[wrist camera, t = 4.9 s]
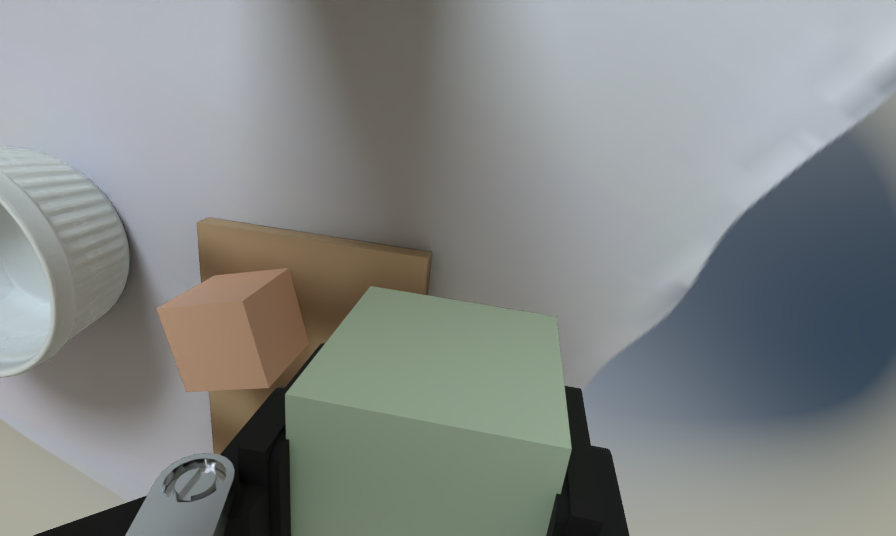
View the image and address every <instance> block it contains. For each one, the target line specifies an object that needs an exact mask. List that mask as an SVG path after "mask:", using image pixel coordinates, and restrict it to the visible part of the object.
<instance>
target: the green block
mask: <svg viewBox="0 0 896 536" xmlns="http://www.w3.org/2000/svg"><path fill="white" fill-rule="evenodd" d="M285 420H286V439H288V440H289V449H290V505H291V536H546V534H547V530H548V526H549V522H550V518H551V514H552V510H553V505H554V501H555V497H556V493H558V494H561V490H562V486H563V482H564V478H565V474H566V470H567V466H568V462H569V458H570V454H571V450H572V447H571V439H570V430H569V421H568V412H567V404H566V395H565V386H564V377H563V369H562V360H561V351H560V342H559V334H558V325H557V316H550V315H544V314H538V313H532V312H526V311H520V310H514V309H508V308H502V307H495V306H489V305H483V304H477V303H471V302H465V301H459V300H453V299H447V298H440V297H434V296H428V295H422V294H416V293H410V292H404V291H398V290H392V289H385V288H379V287H373V286H370V287H369V289H368V290H367V291H366V292H365V294H364V295H363V296H362V297H361V299H360V300H359V301H358V303H357V304H356V305H355V306H354V308H353V309H352V310H351V311H350V313H349V314H348V315H347V316H346V318H345V319H344V320H343V322H342V323H341V324H340V325H339V327H338V328H337V329H336V330H335V332H334V333H333V334H332V335H331V337H330V338H329V339H328V341H327V342H326V343H325V344H324V346H323V347H322V348H321V349H320V351H319V352H318V353H317V354H316V356H315V357H314V358H313V359H312V361H311V362H310V363H309V365H308V366H307V367H306V368H305V370H304V371H303V372H302V373H301V375H300V376H299V377H298V378H297V380H296V381H295V382H294V384H293V385H292V386H291V387H290V389H289V390H288V391H287V392H286V394H285Z"/></svg>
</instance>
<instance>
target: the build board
mask: <svg viewBox="0 0 896 536" xmlns="http://www.w3.org/2000/svg"><path fill="white" fill-rule="evenodd" d="M197 234H198V247H199V261H200V274H201V283H202V282H204V281H206V280H207V279H209V278H211V277H213V276H214V275H224V274H234V273H244V272H254V271H264V270H274V269H284V268H289V270H290V274H291V278H292V282H293V285H294V289H295V293H296V297H297V300H298V304H299V308H300V312H301V315H302V319H303V323H304V327H305V330H306V334H307V338H308V342H309V344H308V345H307V346H306V347H305V348H304V349H303V351H302V352H301V353H300V354H299V355H298V356H297V357H296V358H295V360H294V361H293V362H292V363H291V364H290V365H289V366H288V367H287V368H286V370H285V371H284V372H283V373H282V374H281V375H280V376H279V377H278V378H277V380H276V381H275V382H274V383H273V384H272V385H271V386H270V387H269V388H260V389H238V390H217V391H209V396H210V409H211V423H212V436H213V450H214V454H219V455H220V454H221V453H222V452H223V450H224V449H225V448H226V447H227V446H228V444H229V443H230V442H231V441H232V440H233V438H234V437H235V436H236V435H237V434H238V432H239V431H240V430H241V429H242V428H243V427H244V425H245V424H246V423H247V422H248V421H249V419H250V418H251V417H252V416H253V415H254V413H255V412H256V411H257V410H258V409H259V407H260V406H261V405H262V404H263V403H264V401H265V400H266V399H267V398H268V397H269V396H270V394H271V393H272V392H273V391H274V390H275V389H276V388H278V387H283V388H285V387H286V386H287V385H288V383H289V382H290V381H291V380H292V378H293V377H294V376H295V375H296V373H297V372H298V371H299V370H300V369H301V367H302V366H303V365H304V364H305V362H306V361H307V360H308V359H309V357H310V356H311V355H312V354H313V352H314V351H315V350H316V349H317V348H318V346H319V345H320V344H321V343H326V342H327V341H328V339H329V338H330V337H331V335H332V334H333V333H334V332H335V330H336V329H337V328H338V327H339V325H340V324H341V323H342V322H343V320H344V319H345V318H346V316H347V315H348V314H349V313H350V311H351V310H352V309H353V308H354V306H355V305H356V304H357V303H358V301H359V300H360V299H361V297H362V296H363V295H364V294H365V292H366V291H367V290H368V289H369V287H370V286H373V287H379V288H385V289H392V290H398V291H404V292H410V293H416V294H422V295H428V285H429V275H430V265H431V256H432V252H428V251H422V250H415V249H409V248H402V247H396V246H389V245H383V244H376V243H370V242H364V241H357V240H351V239H344V238H338V237H331V236H325V235H318V234H312V233H305V232H299V231H292V230H286V229H280V228H273V227H267V226H260V225H254V224H247V223H241V222H234V221H228V220H221V219H215V218H207V219H204V220H201V221H199V222H197Z"/></svg>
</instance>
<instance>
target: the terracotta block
mask: <svg viewBox="0 0 896 536" xmlns="http://www.w3.org/2000/svg"><path fill="white" fill-rule="evenodd" d="M156 309H157V312H158V315H159V318H160V320H161V323H162V326H163V329H164V331H165V334H166V337H167V340H168V342H169V345H170V348H171V351H172V353H173V356H174V359H175V362H176V364H177V367H178V370H179V373H180V375H181V378H182V381H183V384H184V386H185V389H186V392H196V391H217V390H238V389H260V388H269V387H270V386H271V385H272V384H273V383H274V382H275V381H276V380H277V378H278V377H279V376H280V375H281V374H282V373H283V372H284V371H285V370H286V368H287V367H288V366H289V365H290V364H291V363H292V362H293V361H294V360H295V358H296V357H297V356H298V355H299V354H300V353H301V352H302V351H303V349H304V348H305V347H306V346H307V345H308V344H309V342H308V338H307V334H306V330H305V327H304V323H303V319H302V315H301V312H300V308H299V304H298V300H297V297H296V293H295V289H294V285H293V282H292V278H291V274H290V270H289V268H284V269H274V270H264V271H254V272H244V273H234V274H224V275H214V276H213V277H211V278H209V279H207V280H206V281H204V282H202V283H200V284H199V285H197V286H195V287H193V288H192V289H190V290H188V291H186V292H184V293H183V294H181V295H179V296H177V297H176V298H174V299H172V300H170V301H169V302H167V303H165V304H163V305H162V306H160V307H158V308H156Z"/></svg>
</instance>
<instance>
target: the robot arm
mask: <svg viewBox="0 0 896 536" xmlns="http://www.w3.org/2000/svg"><path fill="white" fill-rule="evenodd" d="M324 344H325V343H321V344H320V345H319V346H318V348H317V349H316V350H315V351H314V352H313V354H312V355H311V356H310V357H309V359H308V360H307V361H306V362H305V364H304V365H303V366H302V367H301V369H300V370H299V371H298V372H297V373H296V375H295V376H294V377H293V378H292V380H291V381H290V382H289V383H288V385H287V386H286V387H285V388H283V387H278V388H276V389H275V390H274V391H273V392H272V393H271V394H270V396H269V397H268V398H267V399H266V400H265V401H264V403H263V404H262V405H261V406H260V407H259V409H258V410H257V411H256V412H255V413H254V415H253V416H252V417H251V418H250V419H249V421H248V422H247V423H246V424H245V425H244V427H243V428H242V429H241V430H240V431H239V432H238V434H237V435H236V436H235V437H234V438H233V440H232V441H231V442H230V443H229V444H228V446H227V447H226V448H225V449H224V450H223V452H222V453H221V454H220V455H219V454H212V453H202V454H194V455H191V456H188V457H184V458H182V459H180V460H178V461H176V462H174V463H172V464H171V465H170V466H168V467H167V468H166V469H165V470H163V471H162V472H161V474H160V475H159V476H158V478H157V479H156V481H155V482H154V484H153V486H152V488H151V490H150V491H149V493H148V495H147V496H145V497H142V498H139V499H136V500H133V501H130V502H128V503H125V504H122V505H119V506H116V507H113V508H110V509H108V510H105V511H102V512H99V513H96V514H93V515H90V516H88V517H85V518H82V519H79V520H76V521H73V522H71V523H67V524H65V525H62V526H59V527H56V528H53V529H50V530H47V531H45V532H42V533H39V534H36V535H34V536H291V505H290V449H289V440H288V439H286V420H285V394H286V392H287V391H288V390H289V389H290V387H291V386H292V385H293V384H294V382H295V381H296V380H297V378H298V377H299V376H300V375H301V373H302V372H303V371H304V370H305V368H306V367H307V366H308V365H309V363H310V362H311V361H312V359H313V358H314V357H315V356H316V354H317V353H318V352H319V351H320V349H321V348H322V347H323V346H324ZM565 395H566V404H567V412H568V421H569V430H570V439H571V447H572V450H571V454H570V458H569V462H568V466H567V470H566V474H565V478H564V482H563V486H562V490H561V494H558V493H556V497H555V501H554V505H553V510H552V514H551V518H550V522H549V526H548V530H547V534H546V536H629V532H628V528H627V523H626V518H625V514H624V509H623V505H622V500H621V495H620V491H619V486H618V482H617V478H616V473H615V468H614V464H613V459H612V455H611V452H610V450H608V449H606V448H601V447H596V446H591V444H590V438H589V432H588V427H587V420H586V415H585V408H584V403H583V396H582V391H581V389H580V388H574V387H568V386H565Z"/></svg>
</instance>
